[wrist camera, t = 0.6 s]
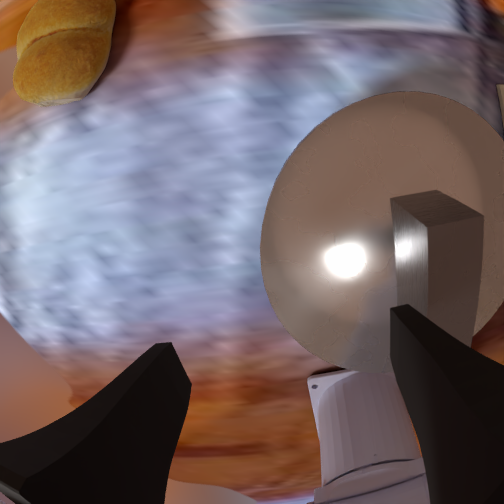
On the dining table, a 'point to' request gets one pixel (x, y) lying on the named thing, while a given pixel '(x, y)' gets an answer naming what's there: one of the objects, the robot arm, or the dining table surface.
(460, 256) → the lid
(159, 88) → the dining table surface
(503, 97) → the mat
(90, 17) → the bread roll
